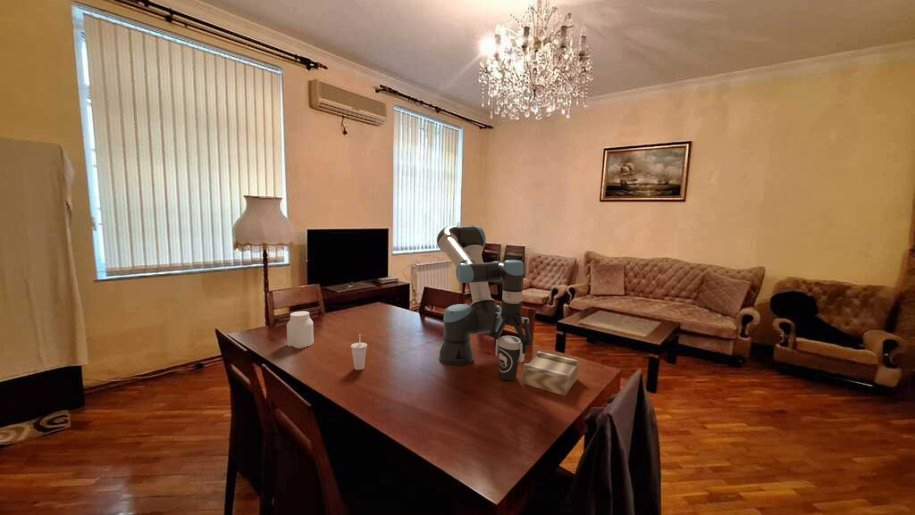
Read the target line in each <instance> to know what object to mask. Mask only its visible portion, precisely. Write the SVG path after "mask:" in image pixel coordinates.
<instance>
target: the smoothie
mask: <svg viewBox="0 0 915 515" xmlns="http://www.w3.org/2000/svg"><path fill="white" fill-rule="evenodd" d="M358 336H359V337H358V339H359V342H354V343H352V344H351V345H350V349H351V353H352V359H353V366H354V370H356V371H361V370H364V369H365V363H366V354H367V348H368V344H367V343H366V342H362V341H361V339H362V338H361V337H362V336H361V333H360V334H358Z"/></svg>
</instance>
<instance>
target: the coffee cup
mask: <svg viewBox="0 0 915 515" xmlns="http://www.w3.org/2000/svg"><path fill="white" fill-rule="evenodd" d="M499 338H500V340H499V341H498V345H499V355H498V376H499V377H500V379H502V380H505V381H514V380H516V378H517V372H518V367H519V364H520V362H519V361H520V345H521V344H522V343H521V340H520V338H519V337H517V336H513V335H503V336H500V337H499Z"/></svg>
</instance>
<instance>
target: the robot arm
mask: <svg viewBox="0 0 915 515" xmlns="http://www.w3.org/2000/svg"><path fill="white" fill-rule="evenodd" d="M486 240H487V238H486V234H485V232H484V229H483V228H482V227H480V226H479V225H448V226H446V227H444V228H442V229H441V230H440V231H439V232H438V235H437V236H436V244H437V247H438V248H439V250H440V251H441V252H443V253H445V254H446V256H447V257H448V258H449V260H450V261H451V263H452V264H453V265H454V267H455V276H456V281H458V282H459V283H464V284H465V283H466V284H469V287H470V288H469V289H470V294H471V299H472V303H471V304H470V305H469V304H467V303H463V304H462V303H458V304H452V305H450V306H448V307H446V308H445V309H444V314H443V342H442V343H441V344H442V345H441V348H440V351H439V354H438V355H439V356H438V357H439V360H440V362H441V363H444V364H445V365H450V366H465V365H468V364H471V363H473V361H474V359H475V358H474V357H475V353H474V351H473V348H472V344H471V336H472V335H480V334H481V335H482V334H489V336H490V337H492V338H493V339H494V340H493V346H494V347H495V357H499V345H498V341H499V340H500V338H501V335H502V333H503V331H504V330H505V328H506V326H511V327H513V328H514V329H515V330H516V333H517V335H518V338H519V339H520V340H521V343H522V344H521V345H520V357H519V363H523V362H524V361H525V354H527V352H528V346H530V345H532V344H533V338H532V333H531V328H530V317H524V316H523V315H522V312H523V303H522V301H523V290H524V289H523V288H524V276H525V275H524V273H525V270H524V266H525V265H524V262H523V261H522V260H519V259H506V260H504V261H501V260H499V261H498V260H494V261H491V262H484V260H483V256H482V252H483V251H484V248H485V247H486V244H487V241H486ZM490 282H501V283H502V297H501V299H502V302H501V305H497V301H496V300H495V299H494V298H492V296H491V291H490V290H491V289H490V287H489V283H490ZM521 321H522V324H523V328H522V324H521ZM523 329H524V330H523Z"/></svg>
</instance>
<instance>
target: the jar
mask: <svg viewBox="0 0 915 515" xmlns="http://www.w3.org/2000/svg"><path fill="white" fill-rule="evenodd" d="M310 317H311V316H310V312H309V311H306V310H304V311H302V310H301V311H294V312H291V313H290V314H289V318H290V319H289V320H288V322H287V324H286V336H287V337H286V338H287V339H286V340H287V343H286V344H287V345H288V347H291V346H293V347H292V348H294V347H295V349H296V348H297V349H303V348H302V347H305V348H308V347H311V346H312V345H314V342H315V340H314V321H313V320H312V318H310ZM310 345H311V346H310ZM307 346H308V347H307Z"/></svg>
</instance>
